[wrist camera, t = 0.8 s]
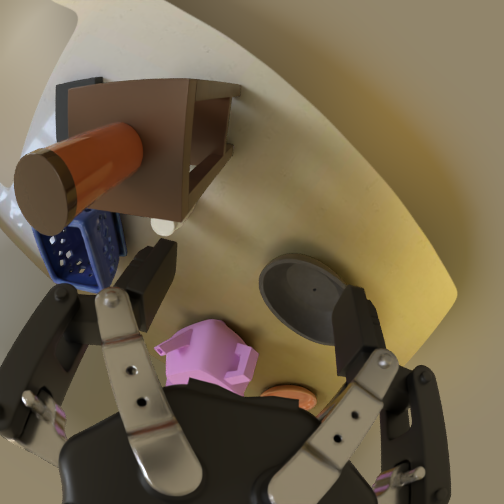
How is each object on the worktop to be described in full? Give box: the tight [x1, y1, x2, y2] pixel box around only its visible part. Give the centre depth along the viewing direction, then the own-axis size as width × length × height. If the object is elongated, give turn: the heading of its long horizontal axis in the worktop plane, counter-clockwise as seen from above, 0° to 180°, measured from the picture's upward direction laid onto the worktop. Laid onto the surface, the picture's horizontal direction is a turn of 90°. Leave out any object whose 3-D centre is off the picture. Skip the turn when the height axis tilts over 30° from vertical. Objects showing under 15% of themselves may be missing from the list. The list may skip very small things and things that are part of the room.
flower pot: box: [31, 208, 127, 294], centre depth 39 cm, size 13×13×12 cm
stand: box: [68, 78, 241, 223], centre depth 25 cm, size 10×10×20 cm
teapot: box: [154, 319, 259, 397], centre depth 51 cm, size 19×18×15 cm
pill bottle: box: [151, 205, 195, 236], centre depth 37 cm, size 4×4×8 cm
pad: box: [56, 77, 103, 142], centre depth 32 cm, size 11×9×2 cm
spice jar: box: [14, 122, 143, 236], centre depth 13 cm, size 4×4×8 cm
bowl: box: [259, 253, 347, 346], centre depth 43 cm, size 12×22×6 cm, turn 44°
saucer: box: [260, 385, 317, 411], centre depth 67 cm, size 16×16×3 cm
